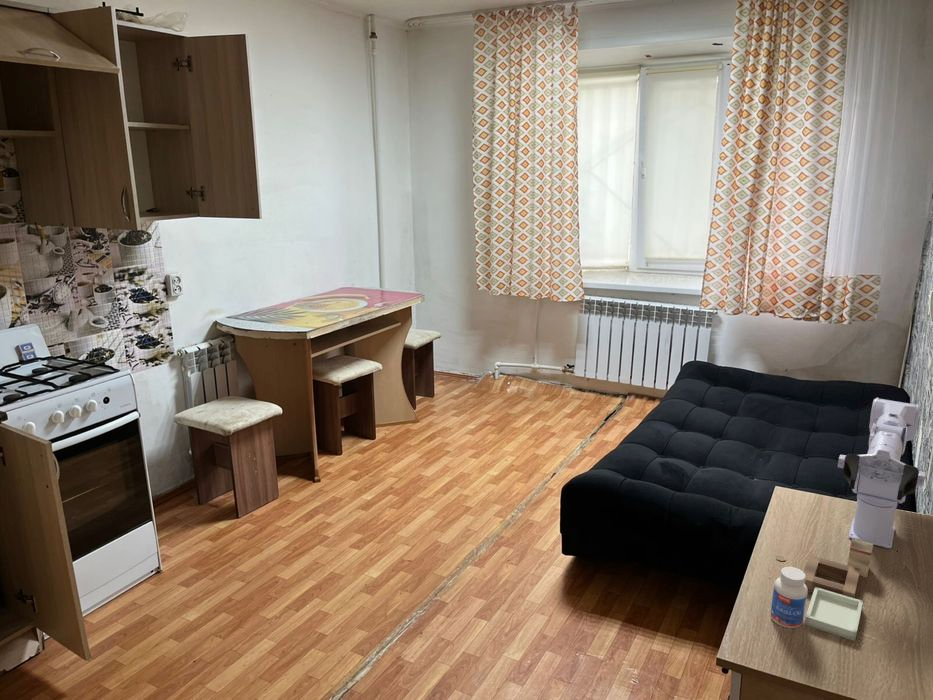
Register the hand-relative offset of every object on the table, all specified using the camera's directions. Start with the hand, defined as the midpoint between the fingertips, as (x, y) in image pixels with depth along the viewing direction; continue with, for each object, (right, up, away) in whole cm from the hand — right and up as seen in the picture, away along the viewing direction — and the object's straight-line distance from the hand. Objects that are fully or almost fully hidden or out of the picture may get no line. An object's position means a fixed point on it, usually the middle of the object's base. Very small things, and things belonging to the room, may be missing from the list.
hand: (875, 489), depth 130 cm
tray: (-9, -22, -3) cm, 24 cm away
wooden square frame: (-5, -19, +6) cm, 21 cm away
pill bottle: (-18, -23, -3) cm, 29 cm away
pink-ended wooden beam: (+2, -18, +10) cm, 21 cm away
